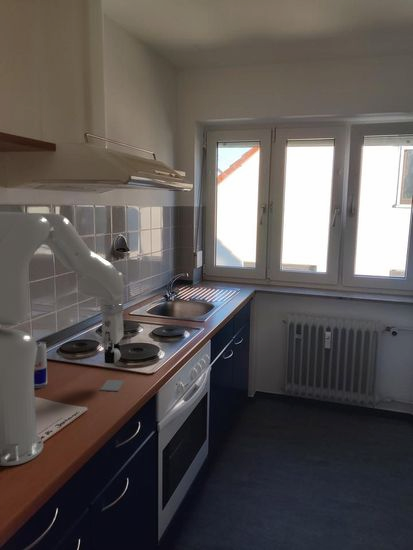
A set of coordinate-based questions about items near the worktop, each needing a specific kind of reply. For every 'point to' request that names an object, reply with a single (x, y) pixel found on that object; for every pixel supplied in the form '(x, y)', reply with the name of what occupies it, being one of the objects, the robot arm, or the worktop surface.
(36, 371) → the white bottle
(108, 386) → the coaster
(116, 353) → the garlic
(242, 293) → the worktop surface
